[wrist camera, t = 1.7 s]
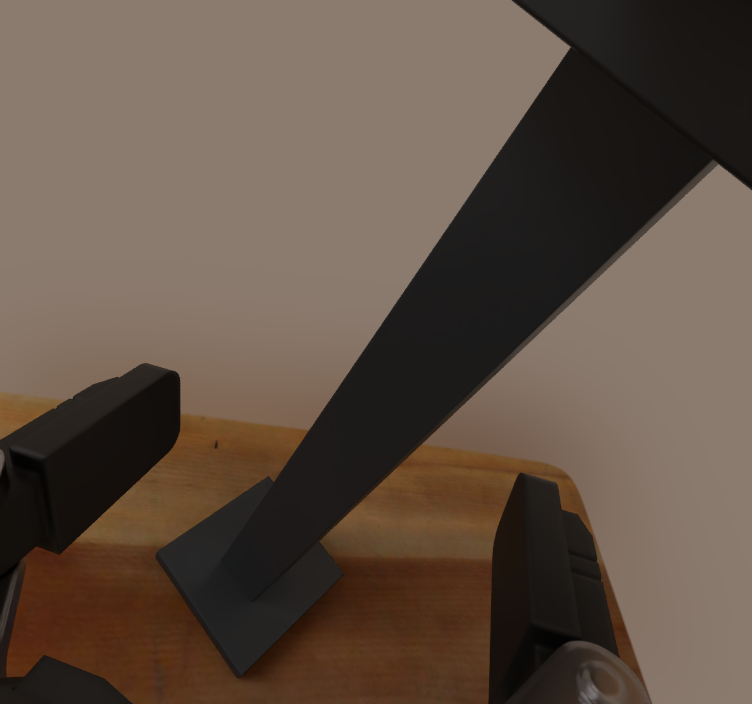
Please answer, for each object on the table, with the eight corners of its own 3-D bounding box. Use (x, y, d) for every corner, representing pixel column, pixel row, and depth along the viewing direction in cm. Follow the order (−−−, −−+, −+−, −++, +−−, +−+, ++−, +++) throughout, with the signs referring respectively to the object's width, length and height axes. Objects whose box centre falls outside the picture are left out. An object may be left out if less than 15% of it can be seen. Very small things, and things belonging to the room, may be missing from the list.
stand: (155, 557, 28) (442, -241, 6) (265, 481, 33) (626, -75, 11) (236, 678, 26) (1097, 196, 4) (338, 578, 32) (937, 141, 10)
